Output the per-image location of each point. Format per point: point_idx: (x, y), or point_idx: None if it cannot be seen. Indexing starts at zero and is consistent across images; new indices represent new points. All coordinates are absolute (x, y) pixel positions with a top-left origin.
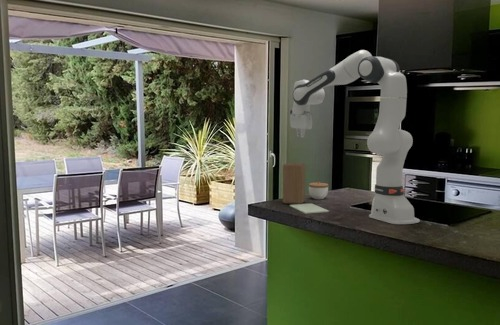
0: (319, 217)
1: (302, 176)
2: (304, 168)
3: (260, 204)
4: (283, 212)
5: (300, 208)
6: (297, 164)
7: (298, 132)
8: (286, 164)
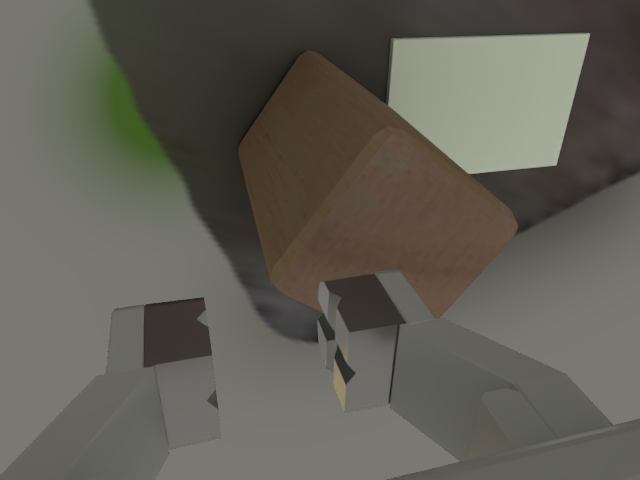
0: (632, 129)
1: (456, 164)
2: (413, 135)
3: (291, 305)
4: None
5: (480, 158)
6: (492, 254)
7: (143, 474)
8: None
